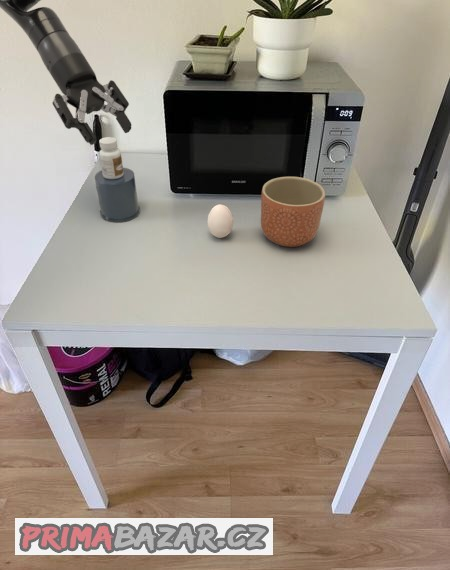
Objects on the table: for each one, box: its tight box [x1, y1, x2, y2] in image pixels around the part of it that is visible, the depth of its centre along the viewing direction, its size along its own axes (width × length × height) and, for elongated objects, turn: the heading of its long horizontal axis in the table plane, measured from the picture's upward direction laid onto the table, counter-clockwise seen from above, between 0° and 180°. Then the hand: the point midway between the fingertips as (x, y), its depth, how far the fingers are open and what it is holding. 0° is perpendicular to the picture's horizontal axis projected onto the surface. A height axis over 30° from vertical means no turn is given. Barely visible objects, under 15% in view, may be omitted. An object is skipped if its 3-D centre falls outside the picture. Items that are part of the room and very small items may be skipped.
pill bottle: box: [98, 136, 124, 179], centre depth 92 cm, size 4×4×8 cm
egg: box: [207, 204, 234, 239], centre depth 91 cm, size 5×5×7 cm
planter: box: [260, 176, 326, 248], centre depth 90 cm, size 12×12×11 cm
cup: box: [94, 167, 141, 224], centre depth 98 cm, size 9×9×9 cm
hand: (112, 136), depth 88 cm, fingers open, 8 cm apart
